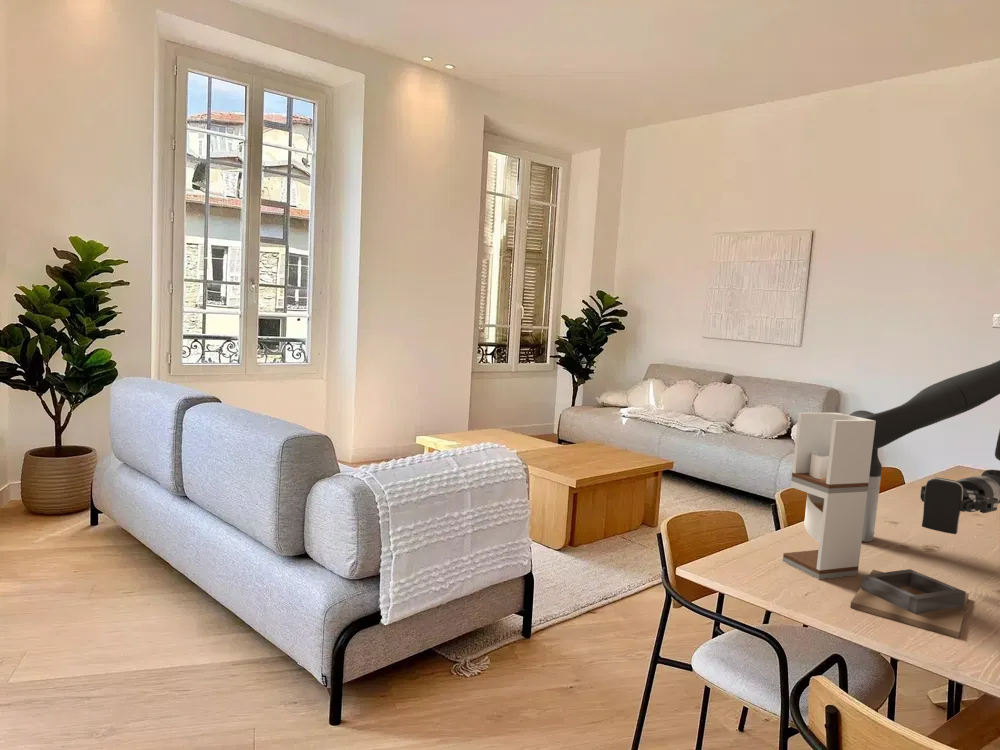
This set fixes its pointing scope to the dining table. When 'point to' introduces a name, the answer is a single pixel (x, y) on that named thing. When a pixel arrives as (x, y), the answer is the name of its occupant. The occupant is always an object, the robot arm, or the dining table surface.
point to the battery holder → (913, 600)
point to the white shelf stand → (832, 490)
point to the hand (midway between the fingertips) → (942, 501)
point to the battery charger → (942, 505)
